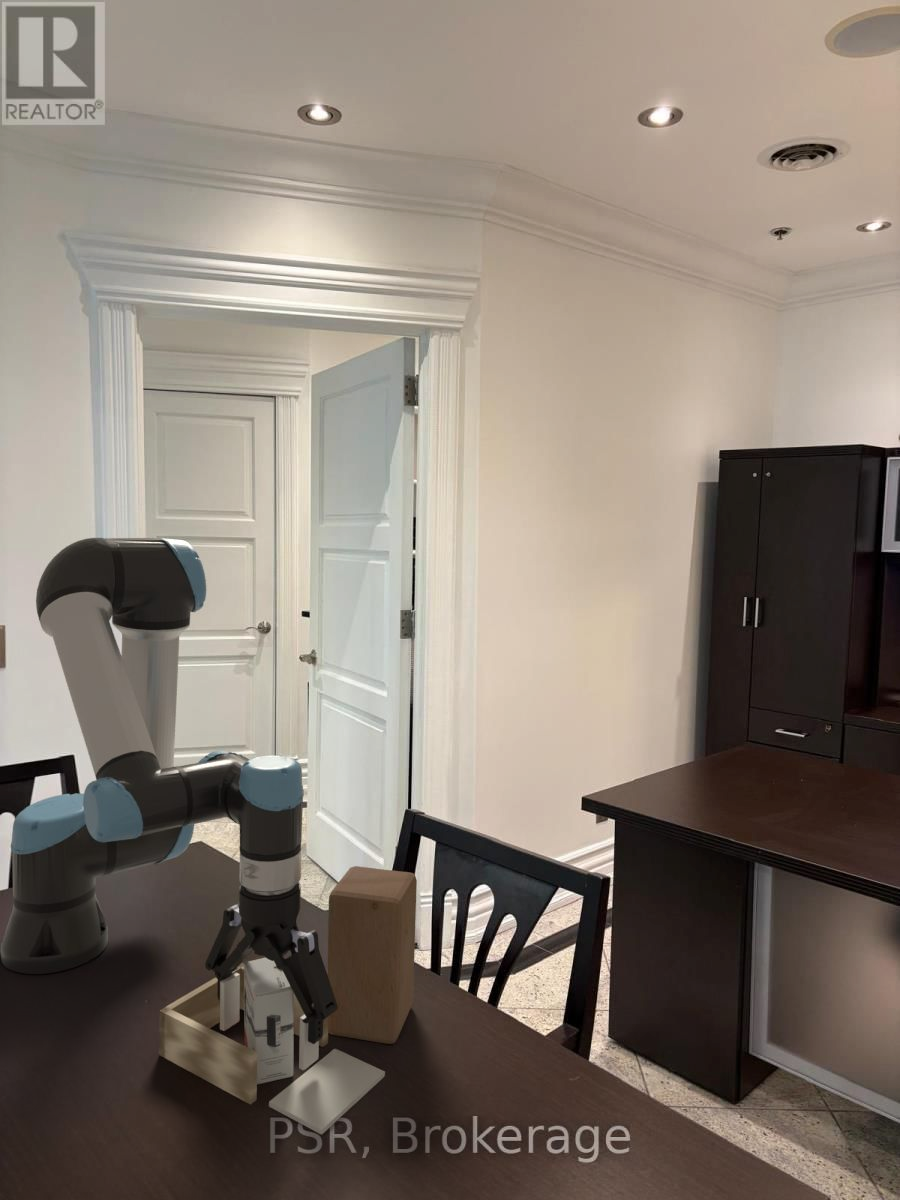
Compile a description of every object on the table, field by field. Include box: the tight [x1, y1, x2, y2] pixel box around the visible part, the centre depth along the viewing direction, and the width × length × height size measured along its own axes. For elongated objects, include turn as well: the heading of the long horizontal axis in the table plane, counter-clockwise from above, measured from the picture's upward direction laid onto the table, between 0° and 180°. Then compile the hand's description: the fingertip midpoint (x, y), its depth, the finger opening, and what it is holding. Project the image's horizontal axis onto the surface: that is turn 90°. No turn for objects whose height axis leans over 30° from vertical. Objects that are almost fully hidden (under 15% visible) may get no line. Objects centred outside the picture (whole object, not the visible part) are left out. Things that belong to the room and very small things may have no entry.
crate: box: [158, 962, 329, 1105], centre depth 108 cm, size 16×14×6 cm
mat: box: [268, 1048, 386, 1136], centre depth 101 cm, size 8×12×1 cm, turn 148°
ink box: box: [243, 957, 295, 1085], centre depth 106 cm, size 8×5×12 cm, turn 23°
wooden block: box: [326, 865, 418, 1045], centre depth 115 cm, size 10×10×20 cm
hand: (267, 1044), depth 106 cm, fingers open, 13 cm apart
